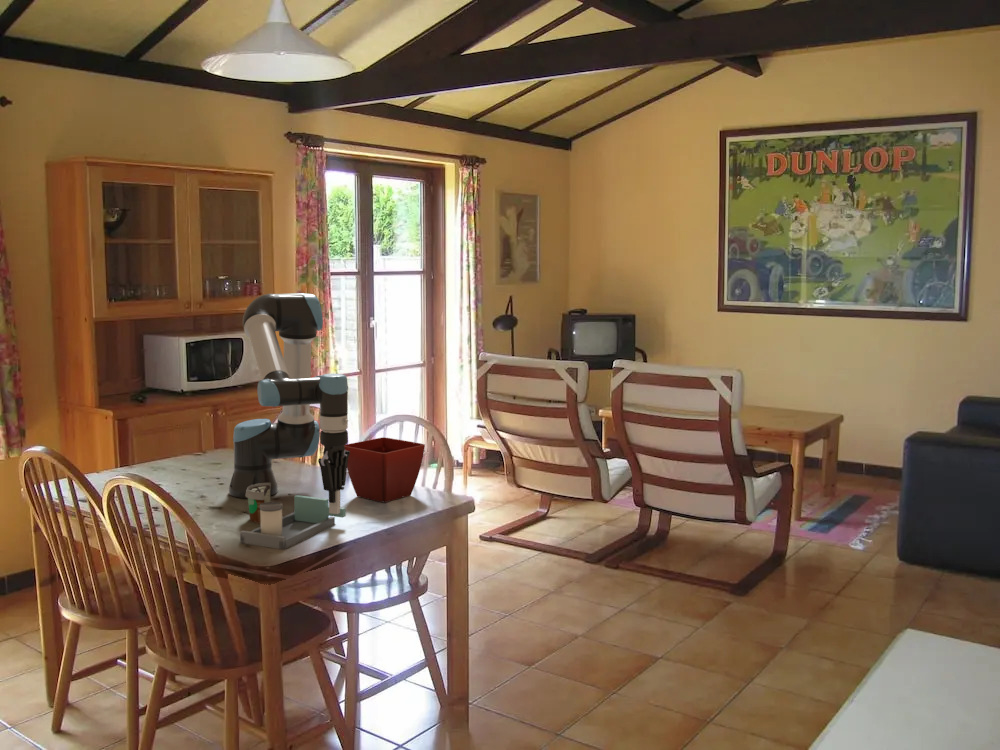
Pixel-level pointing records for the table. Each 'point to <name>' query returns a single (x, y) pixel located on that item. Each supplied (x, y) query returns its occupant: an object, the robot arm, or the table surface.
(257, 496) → the food container
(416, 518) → the table surface
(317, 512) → the pusher
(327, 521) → the grey tray
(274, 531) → the jar
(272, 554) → the table surface
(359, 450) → the plant pot
